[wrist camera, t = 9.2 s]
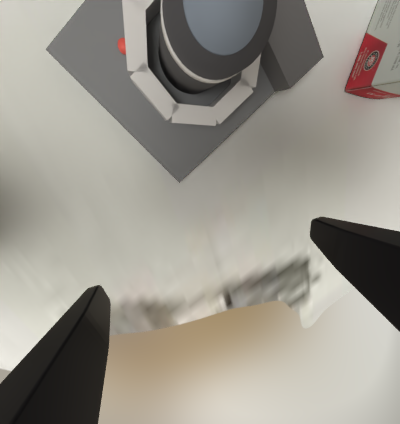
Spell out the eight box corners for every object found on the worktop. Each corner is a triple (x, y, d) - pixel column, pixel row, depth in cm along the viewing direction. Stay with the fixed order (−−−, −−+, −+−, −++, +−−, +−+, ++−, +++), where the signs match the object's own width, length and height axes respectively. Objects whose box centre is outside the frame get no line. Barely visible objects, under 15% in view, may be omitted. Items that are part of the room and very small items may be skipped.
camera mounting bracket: (177, 179, 18) (183, 192, 15) (54, 55, 13) (20, 32, 10) (294, 67, 17) (330, 54, 13) (208, -133, 11) (232, -243, 8)
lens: (226, 88, 15) (280, 65, 9) (167, 100, 14) (179, 85, 8) (218, 6, 13) (281, -103, 6) (148, 17, 12) (144, -92, 6)
